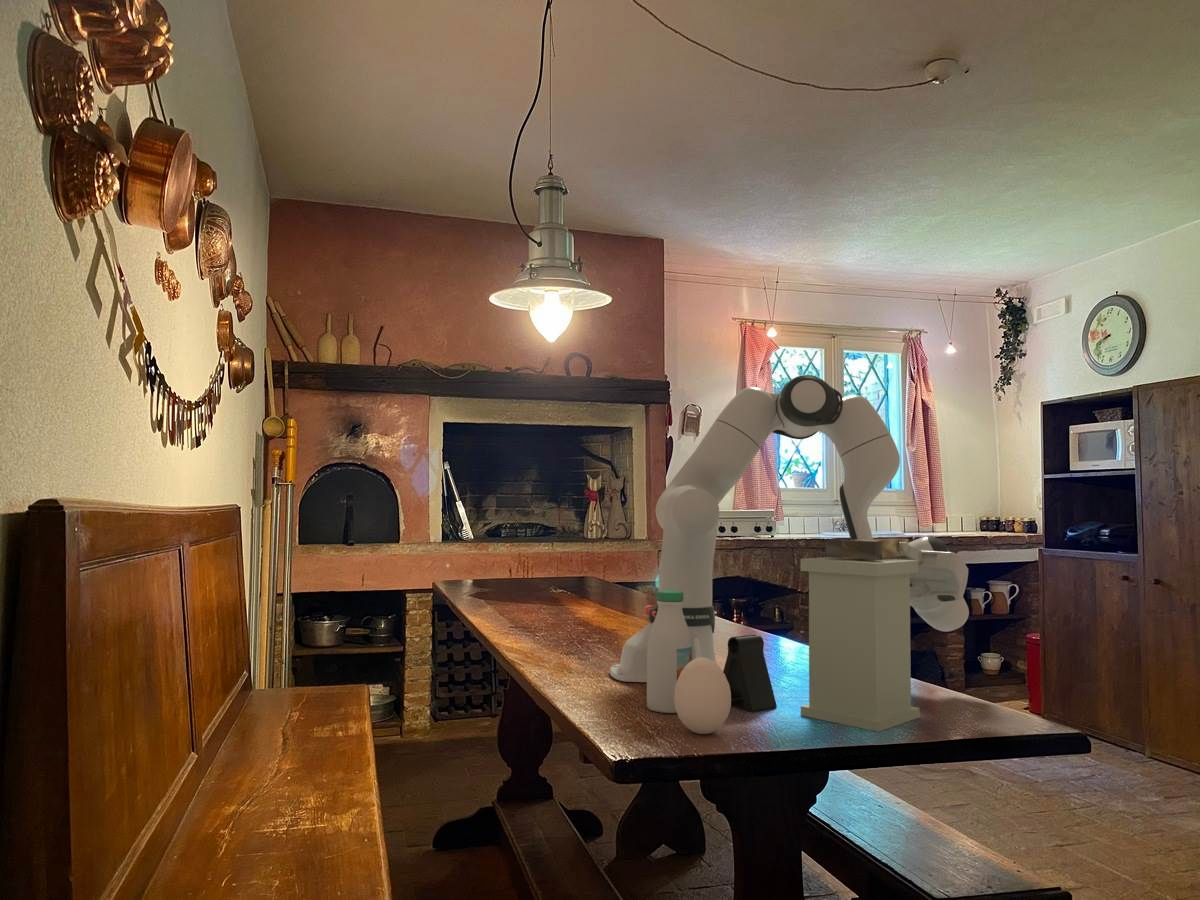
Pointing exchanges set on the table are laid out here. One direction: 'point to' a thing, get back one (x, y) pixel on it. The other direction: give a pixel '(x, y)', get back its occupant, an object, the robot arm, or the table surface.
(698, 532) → the robot arm
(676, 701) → the egg
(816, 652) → the pedestal stand
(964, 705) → the table surface
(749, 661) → the phone stand
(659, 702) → the milk bottle
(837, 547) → the tan block
